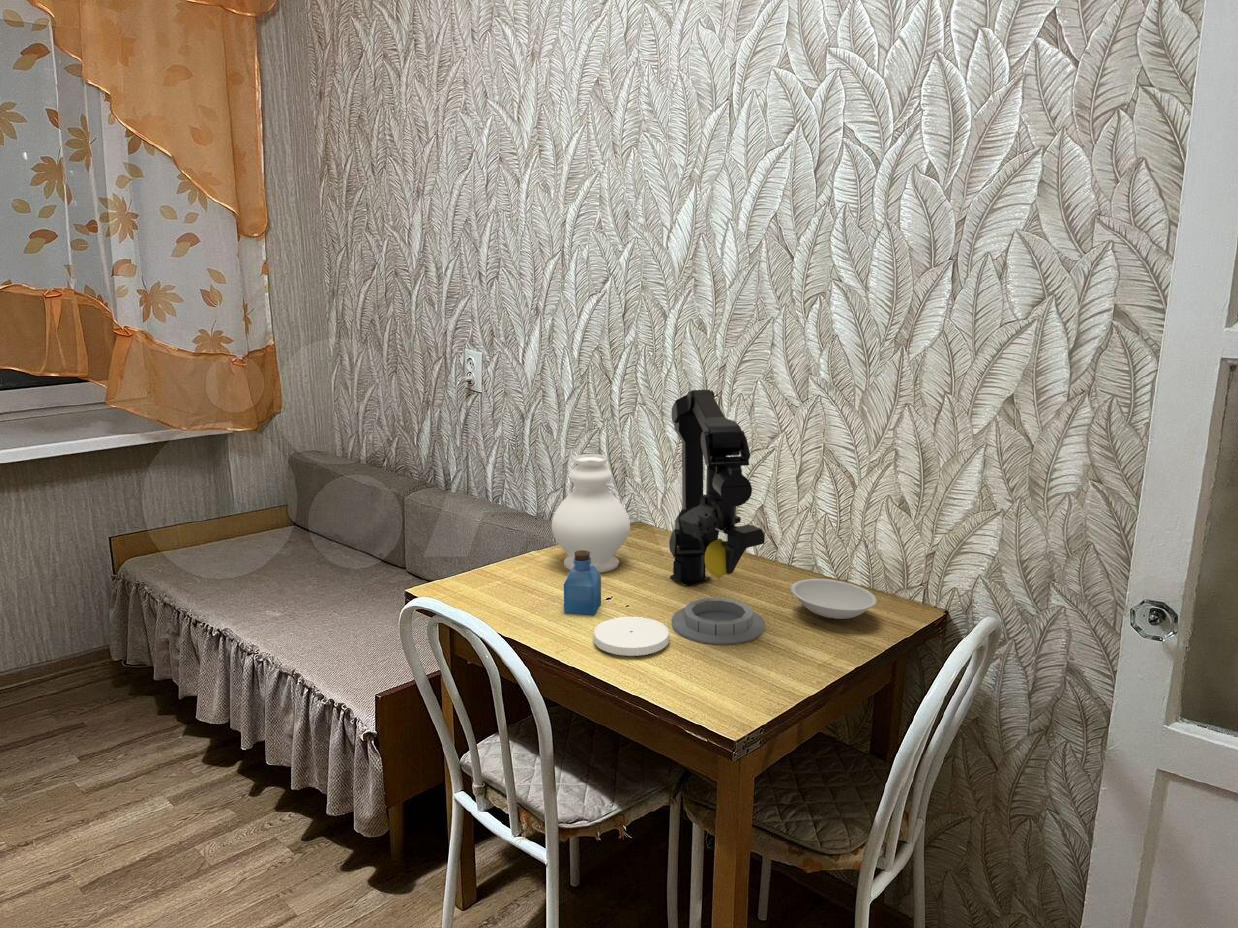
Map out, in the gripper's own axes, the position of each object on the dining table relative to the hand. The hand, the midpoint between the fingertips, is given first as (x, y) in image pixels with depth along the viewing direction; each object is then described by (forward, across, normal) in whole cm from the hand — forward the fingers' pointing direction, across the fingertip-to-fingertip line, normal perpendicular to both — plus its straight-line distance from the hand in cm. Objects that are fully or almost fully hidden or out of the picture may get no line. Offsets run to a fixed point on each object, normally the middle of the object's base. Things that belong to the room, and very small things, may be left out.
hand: (719, 569), depth 182 cm
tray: (+12, 0, 0) cm, 12 cm away
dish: (+12, +10, +21) cm, 26 cm away
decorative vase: (+12, -43, -1) cm, 45 cm away
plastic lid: (+12, -3, -18) cm, 22 cm away
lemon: (+2, 0, 0) cm, 2 cm away
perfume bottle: (+12, -22, -17) cm, 30 cm away
